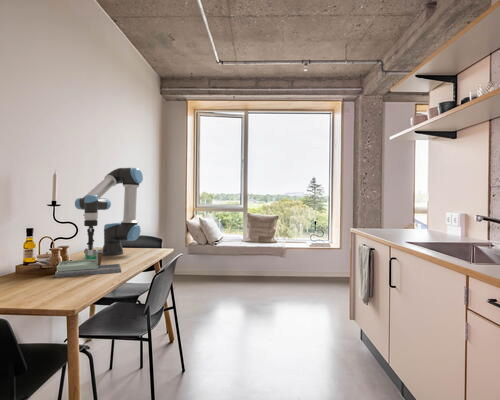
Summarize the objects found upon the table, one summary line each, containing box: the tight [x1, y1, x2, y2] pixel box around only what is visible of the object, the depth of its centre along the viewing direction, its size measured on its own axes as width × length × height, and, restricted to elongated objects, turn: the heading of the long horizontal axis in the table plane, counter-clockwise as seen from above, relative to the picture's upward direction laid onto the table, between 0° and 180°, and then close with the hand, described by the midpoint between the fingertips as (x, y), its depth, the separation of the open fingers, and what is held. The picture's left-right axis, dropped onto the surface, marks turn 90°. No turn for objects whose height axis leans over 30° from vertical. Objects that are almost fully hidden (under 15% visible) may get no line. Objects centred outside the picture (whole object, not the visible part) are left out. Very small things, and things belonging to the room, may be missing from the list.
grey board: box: [54, 263, 122, 279], centre depth 195 cm, size 18×33×2 cm, turn 114°
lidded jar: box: [36, 251, 52, 262], centre depth 204 cm, size 11×11×9 cm
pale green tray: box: [56, 246, 99, 272], centre depth 192 cm, size 16×20×10 cm
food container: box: [83, 247, 103, 265], centre depth 212 cm, size 12×6×10 cm, turn 73°
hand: (90, 253), depth 212 cm, fingers open, 13 cm apart
